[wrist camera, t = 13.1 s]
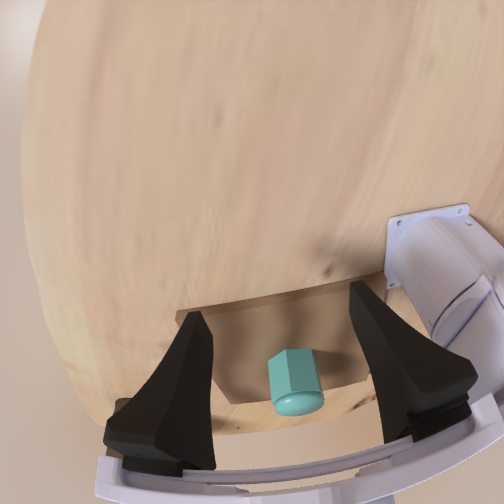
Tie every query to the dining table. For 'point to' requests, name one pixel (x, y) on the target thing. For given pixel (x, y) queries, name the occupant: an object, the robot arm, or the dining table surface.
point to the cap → (295, 382)
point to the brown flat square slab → (285, 337)
